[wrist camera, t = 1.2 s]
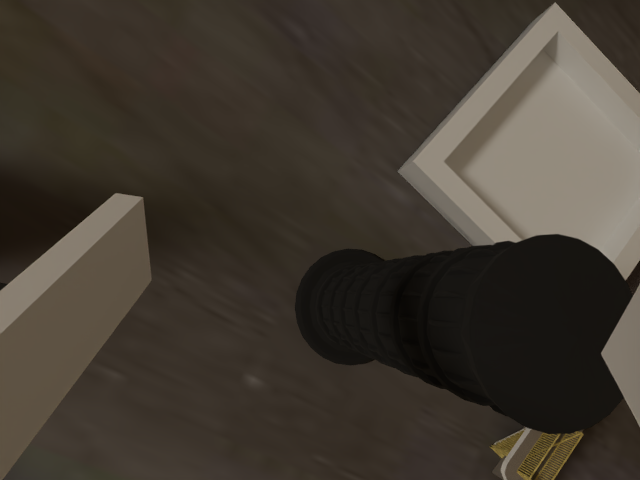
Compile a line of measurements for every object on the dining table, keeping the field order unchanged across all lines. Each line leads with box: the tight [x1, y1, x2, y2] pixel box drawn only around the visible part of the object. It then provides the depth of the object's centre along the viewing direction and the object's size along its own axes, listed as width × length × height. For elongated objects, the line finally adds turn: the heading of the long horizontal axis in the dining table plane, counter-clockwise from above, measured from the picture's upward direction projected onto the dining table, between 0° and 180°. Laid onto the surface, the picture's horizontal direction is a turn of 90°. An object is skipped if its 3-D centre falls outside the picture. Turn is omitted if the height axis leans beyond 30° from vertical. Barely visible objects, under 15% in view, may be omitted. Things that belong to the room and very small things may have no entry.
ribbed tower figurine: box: [295, 234, 633, 434], centre depth 28 cm, size 10×26×10 cm
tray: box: [398, 3, 640, 280], centre depth 45 cm, size 22×22×4 cm
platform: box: [490, 426, 584, 480], centre depth 41 cm, size 12×18×7 cm, turn 138°
